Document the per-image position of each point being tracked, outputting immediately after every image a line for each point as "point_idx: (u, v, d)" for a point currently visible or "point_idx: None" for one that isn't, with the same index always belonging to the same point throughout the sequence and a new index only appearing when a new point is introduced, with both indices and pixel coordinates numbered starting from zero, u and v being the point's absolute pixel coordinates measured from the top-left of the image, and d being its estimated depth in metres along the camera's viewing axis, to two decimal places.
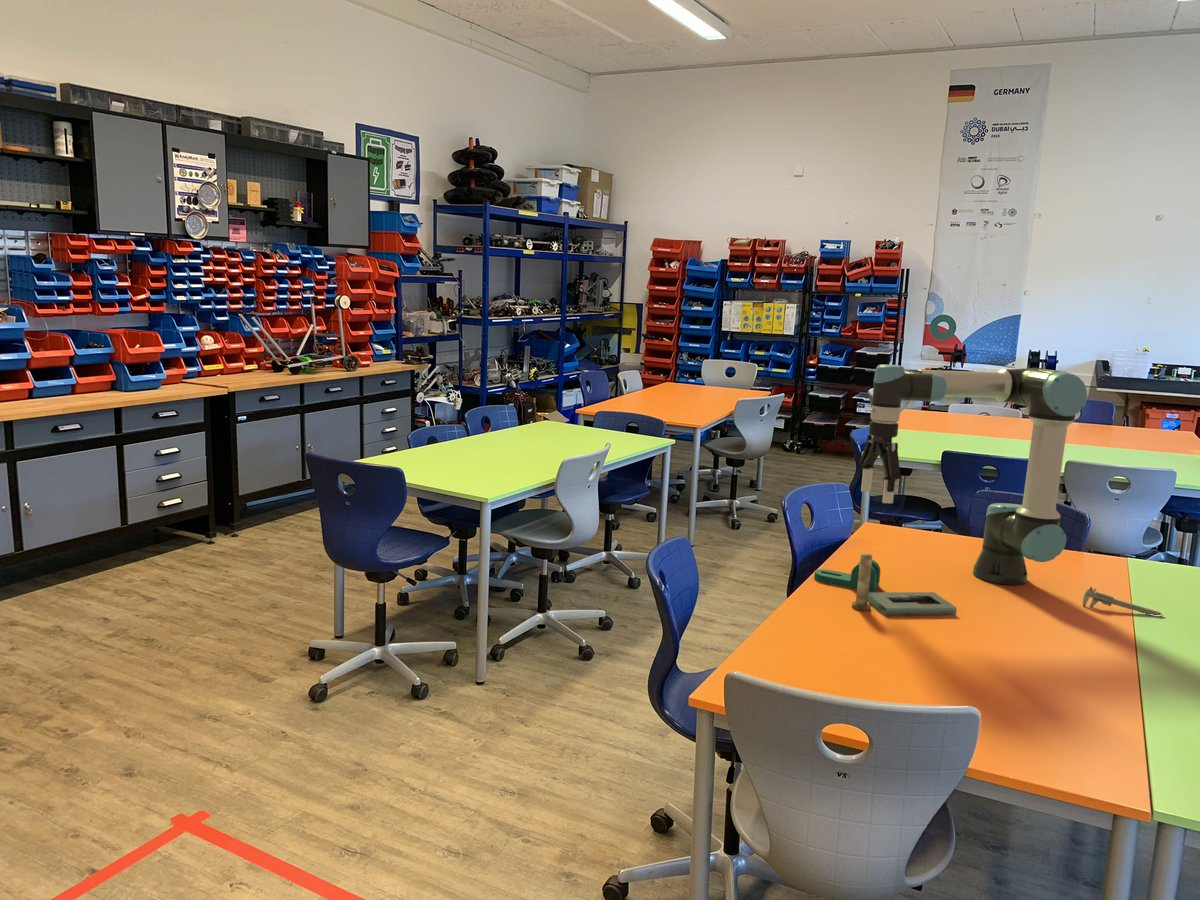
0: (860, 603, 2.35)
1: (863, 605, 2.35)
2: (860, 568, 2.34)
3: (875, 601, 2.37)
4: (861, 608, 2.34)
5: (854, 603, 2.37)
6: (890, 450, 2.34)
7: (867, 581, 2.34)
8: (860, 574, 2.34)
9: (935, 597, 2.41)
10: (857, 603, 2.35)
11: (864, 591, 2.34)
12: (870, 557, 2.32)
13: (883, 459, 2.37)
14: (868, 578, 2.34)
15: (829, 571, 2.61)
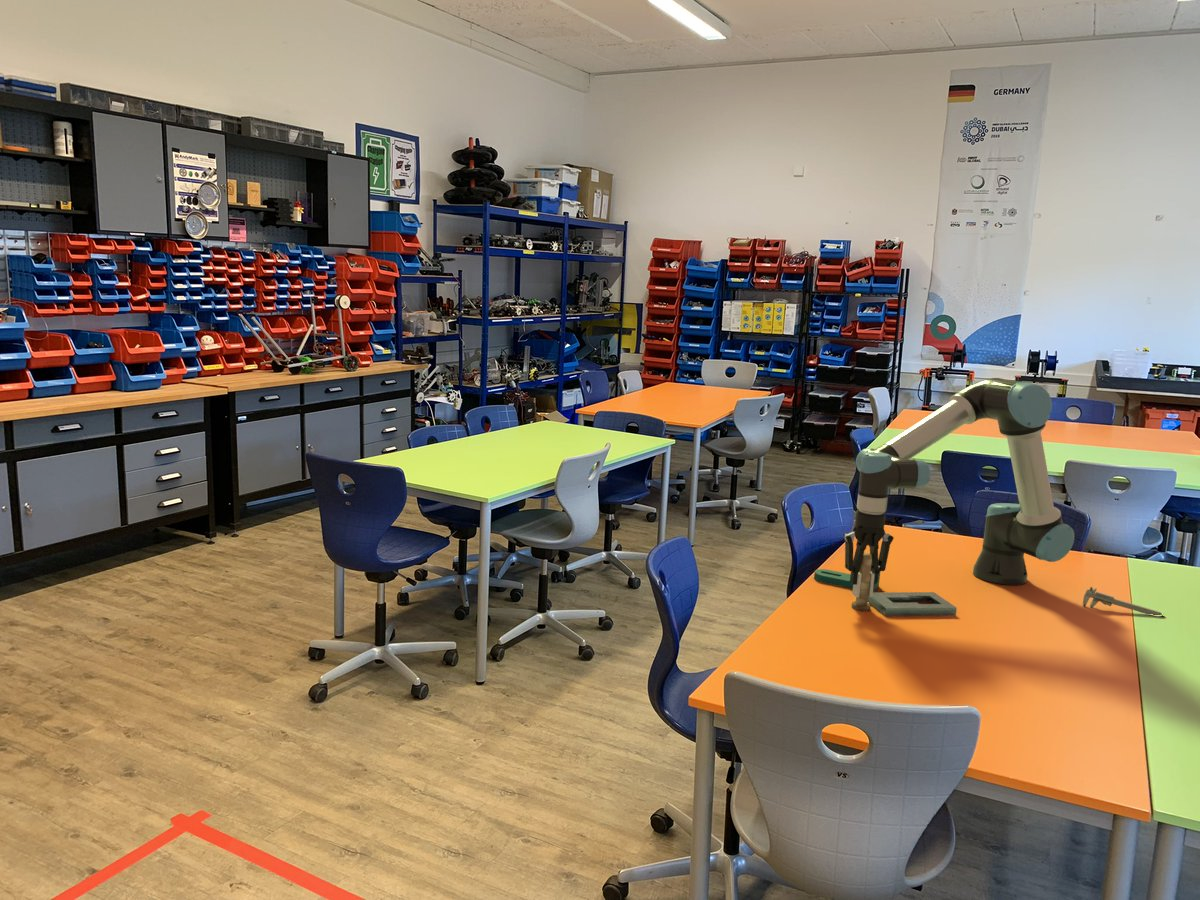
0: (860, 603, 2.35)
1: (863, 605, 2.35)
2: (860, 568, 2.34)
3: (875, 601, 2.37)
4: (861, 608, 2.34)
5: (854, 603, 2.37)
6: (845, 541, 2.33)
7: (867, 581, 2.34)
8: None
9: (935, 597, 2.41)
10: (857, 603, 2.35)
11: (864, 591, 2.34)
12: (870, 557, 2.32)
13: None
14: (868, 578, 2.34)
15: (829, 571, 2.61)
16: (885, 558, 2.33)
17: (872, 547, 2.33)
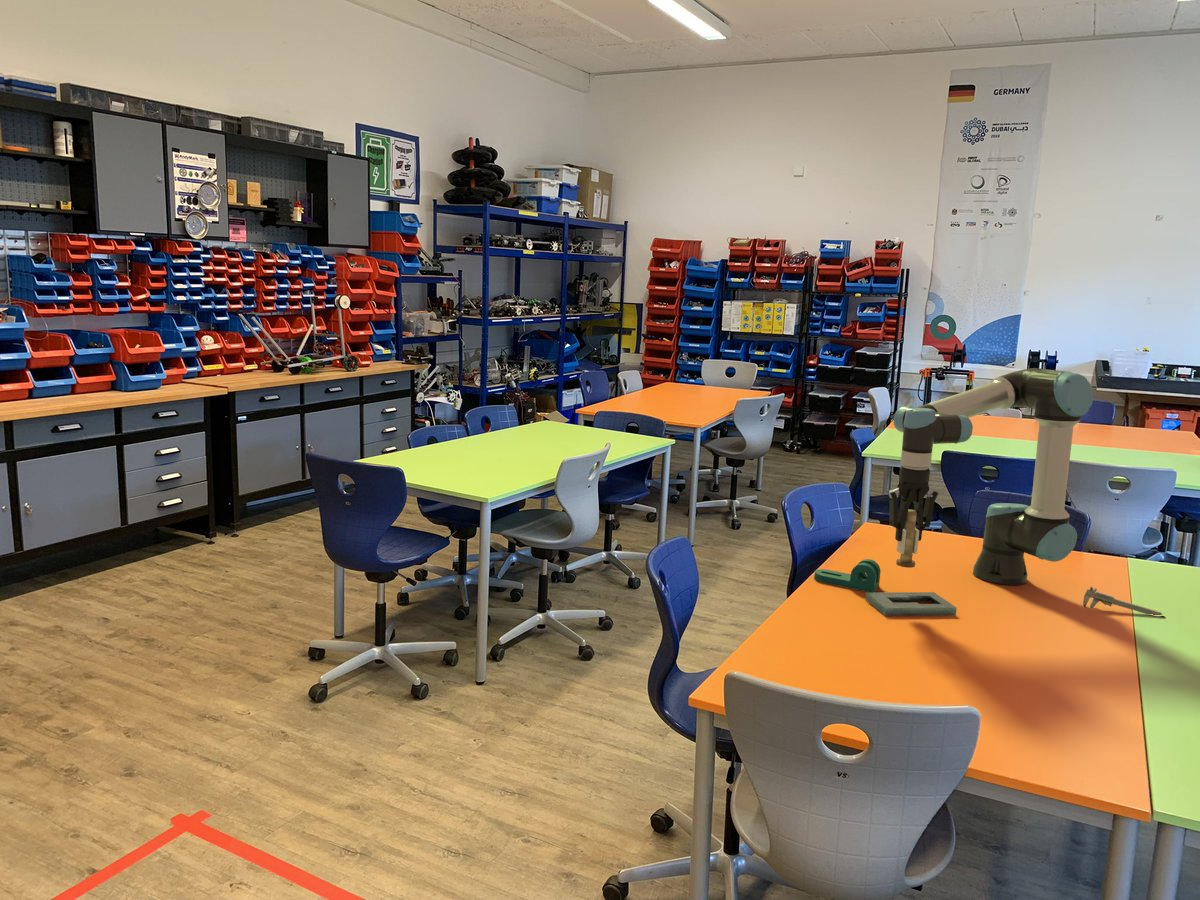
0: (905, 560, 2.34)
1: (908, 561, 2.34)
2: None
3: (875, 601, 2.37)
4: (906, 564, 2.34)
5: (898, 560, 2.36)
6: (889, 498, 2.33)
7: (912, 537, 2.33)
8: None
9: (935, 597, 2.41)
10: (902, 560, 2.35)
11: (909, 547, 2.33)
12: (914, 513, 2.32)
13: None
14: (913, 534, 2.33)
15: (829, 571, 2.61)
16: (930, 514, 2.33)
17: (916, 503, 2.32)
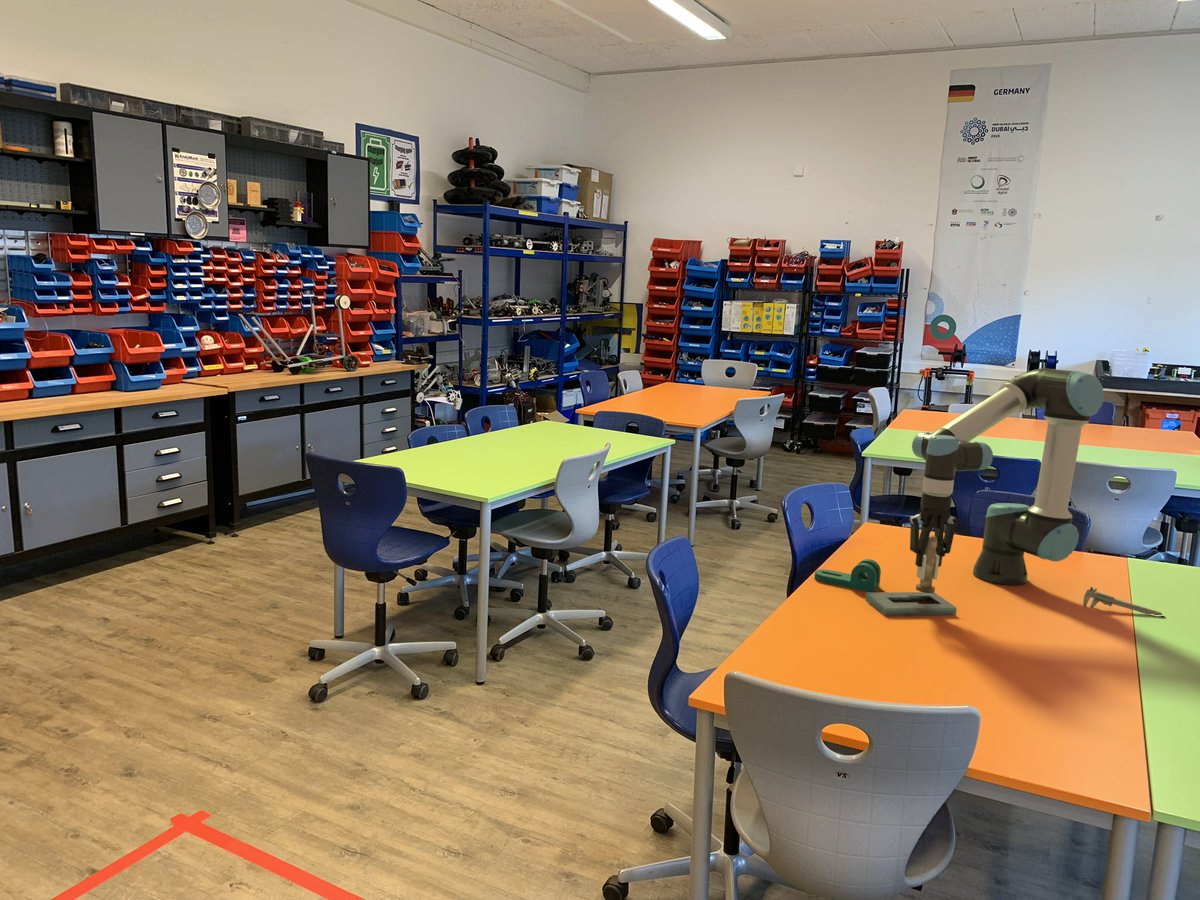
0: (925, 585, 2.36)
1: (928, 587, 2.36)
2: (925, 550, 2.35)
3: (875, 601, 2.37)
4: (926, 590, 2.35)
5: (918, 585, 2.38)
6: (911, 523, 2.35)
7: (932, 563, 2.35)
8: None
9: (935, 597, 2.41)
10: (921, 585, 2.37)
11: (929, 573, 2.35)
12: (935, 539, 2.34)
13: None
14: (933, 560, 2.35)
15: (829, 571, 2.60)
16: (950, 540, 2.35)
17: (937, 529, 2.34)
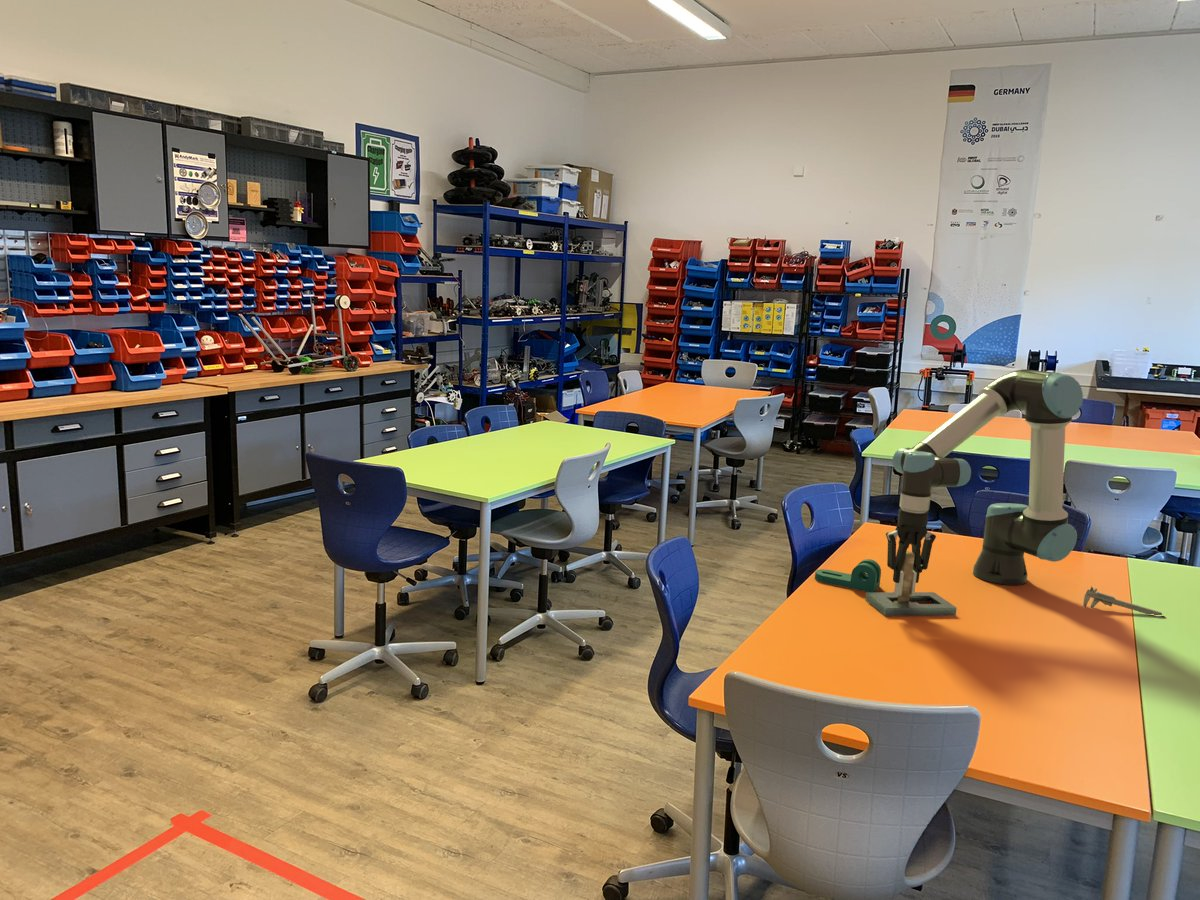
0: (902, 601, 2.36)
1: None
2: None
3: (875, 601, 2.37)
4: None
5: (896, 601, 2.38)
6: (888, 540, 2.35)
7: (909, 579, 2.35)
8: None
9: (935, 597, 2.41)
10: (899, 601, 2.37)
11: (907, 589, 2.35)
12: (913, 555, 2.34)
13: None
14: (910, 576, 2.35)
15: (830, 571, 2.60)
16: (927, 557, 2.35)
17: (914, 546, 2.34)
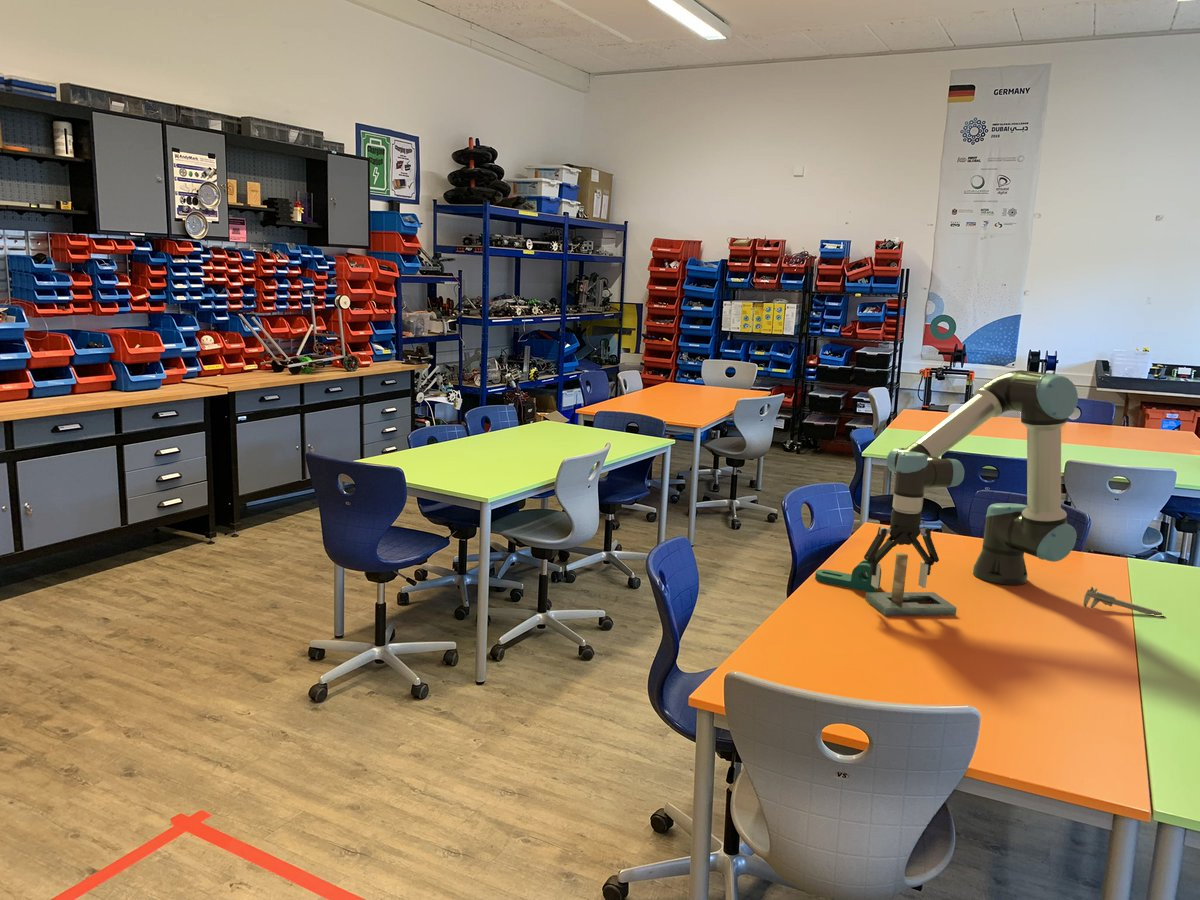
0: None
1: None
2: (896, 568, 2.35)
3: (875, 601, 2.37)
4: None
5: None
6: (878, 533, 2.34)
7: (903, 581, 2.35)
8: (896, 574, 2.35)
9: (935, 597, 2.41)
10: None
11: (900, 591, 2.35)
12: (906, 557, 2.34)
13: None
14: (904, 578, 2.35)
15: (830, 571, 2.60)
16: (933, 550, 2.35)
17: (914, 544, 2.34)
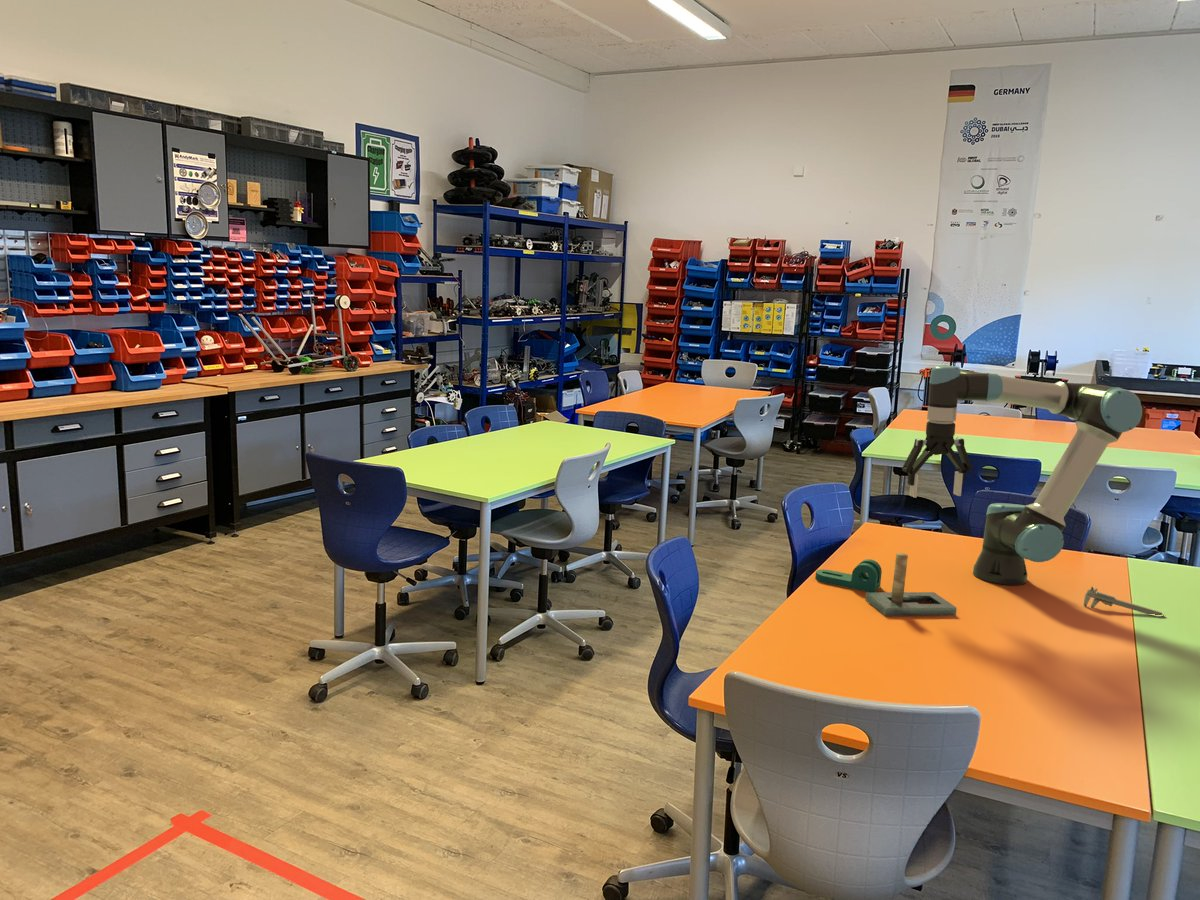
0: None
1: None
2: (895, 568, 2.35)
3: (875, 601, 2.37)
4: None
5: None
6: (914, 445, 2.45)
7: (903, 581, 2.35)
8: (895, 574, 2.35)
9: (935, 597, 2.41)
10: None
11: (900, 591, 2.35)
12: (906, 557, 2.34)
13: None
14: (904, 578, 2.35)
15: (830, 571, 2.60)
16: (967, 459, 2.46)
17: (949, 454, 2.46)
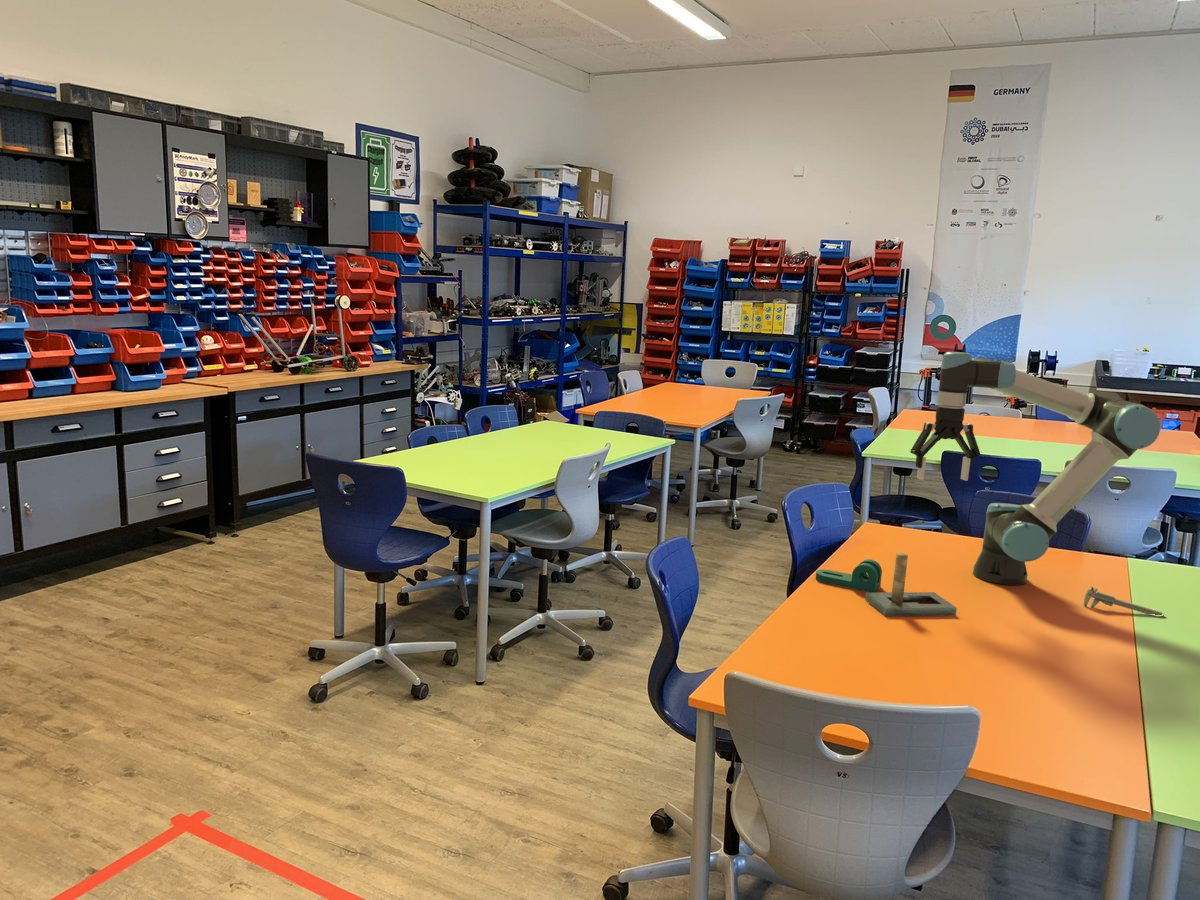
0: None
1: None
2: (896, 568, 2.35)
3: (875, 601, 2.37)
4: None
5: None
6: (923, 429, 2.51)
7: (903, 581, 2.35)
8: (896, 574, 2.35)
9: (935, 597, 2.41)
10: None
11: (900, 591, 2.35)
12: (906, 557, 2.34)
13: None
14: (904, 578, 2.35)
15: (830, 571, 2.60)
16: (975, 444, 2.51)
17: (957, 439, 2.51)
